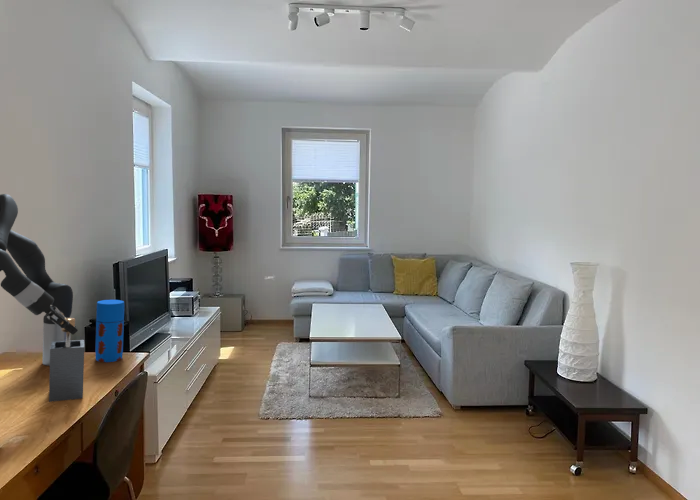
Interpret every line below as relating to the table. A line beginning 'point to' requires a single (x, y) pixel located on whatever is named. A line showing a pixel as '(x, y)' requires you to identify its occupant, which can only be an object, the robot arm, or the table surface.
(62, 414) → the table surface
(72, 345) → the press tower
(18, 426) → the table surface
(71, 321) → the plunger
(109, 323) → the thermos
